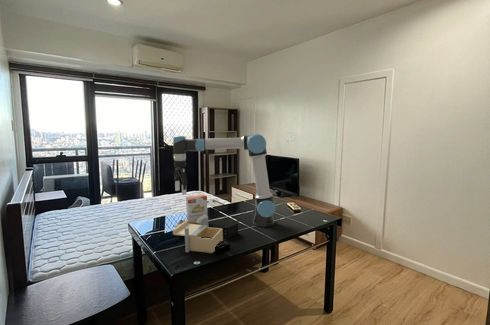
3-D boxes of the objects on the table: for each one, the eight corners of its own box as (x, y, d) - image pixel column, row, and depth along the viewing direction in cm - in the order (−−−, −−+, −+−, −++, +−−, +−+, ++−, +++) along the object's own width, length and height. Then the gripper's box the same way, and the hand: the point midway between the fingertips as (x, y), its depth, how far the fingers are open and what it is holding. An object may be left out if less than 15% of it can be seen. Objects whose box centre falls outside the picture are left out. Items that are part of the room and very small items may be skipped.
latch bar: (206, 216, 165) (206, 214, 164) (198, 223, 153) (198, 220, 153) (204, 216, 165) (204, 214, 165) (196, 222, 154) (196, 220, 153)
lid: (207, 226, 156) (207, 222, 156) (195, 237, 141) (195, 231, 141) (186, 224, 160) (186, 220, 160) (172, 234, 145) (172, 229, 144)
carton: (228, 234, 164) (227, 214, 163) (211, 255, 137) (210, 231, 136) (206, 232, 168) (205, 212, 167) (185, 252, 141) (184, 228, 140)
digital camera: (232, 231, 170) (231, 221, 169) (238, 233, 166) (238, 223, 166) (221, 236, 162) (220, 226, 161) (227, 238, 158) (227, 228, 158)
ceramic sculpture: (170, 222, 163) (176, 216, 178) (171, 236, 163) (176, 228, 178) (187, 222, 163) (191, 216, 178) (187, 235, 164) (192, 228, 178)
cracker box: (188, 227, 178) (187, 198, 176) (186, 224, 184) (185, 196, 181) (208, 224, 185) (207, 195, 182) (205, 221, 190) (204, 194, 188)
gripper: (168, 158, 173) (169, 189, 175) (180, 162, 152) (181, 197, 154) (179, 158, 176) (180, 188, 179) (192, 161, 156) (193, 195, 158)
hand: (180, 192), depth 167 cm, fingers open, 13 cm apart
